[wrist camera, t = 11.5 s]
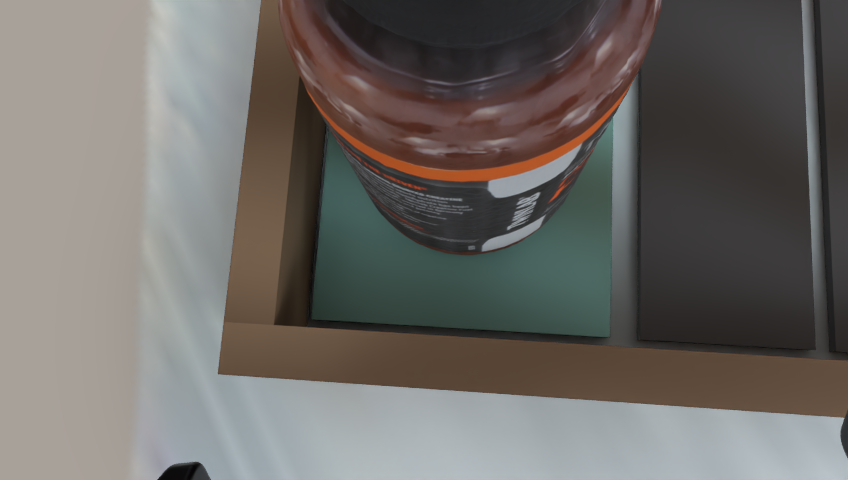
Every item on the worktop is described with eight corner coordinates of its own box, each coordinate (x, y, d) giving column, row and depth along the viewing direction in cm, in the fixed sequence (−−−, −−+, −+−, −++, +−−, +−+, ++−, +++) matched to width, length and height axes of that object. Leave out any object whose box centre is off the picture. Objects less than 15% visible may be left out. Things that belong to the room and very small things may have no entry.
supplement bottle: (574, 264, 17) (759, 97, 6) (355, 255, 18) (161, 84, 7) (577, 56, 18) (738, -406, 7) (370, 53, 19) (223, -384, 8)
